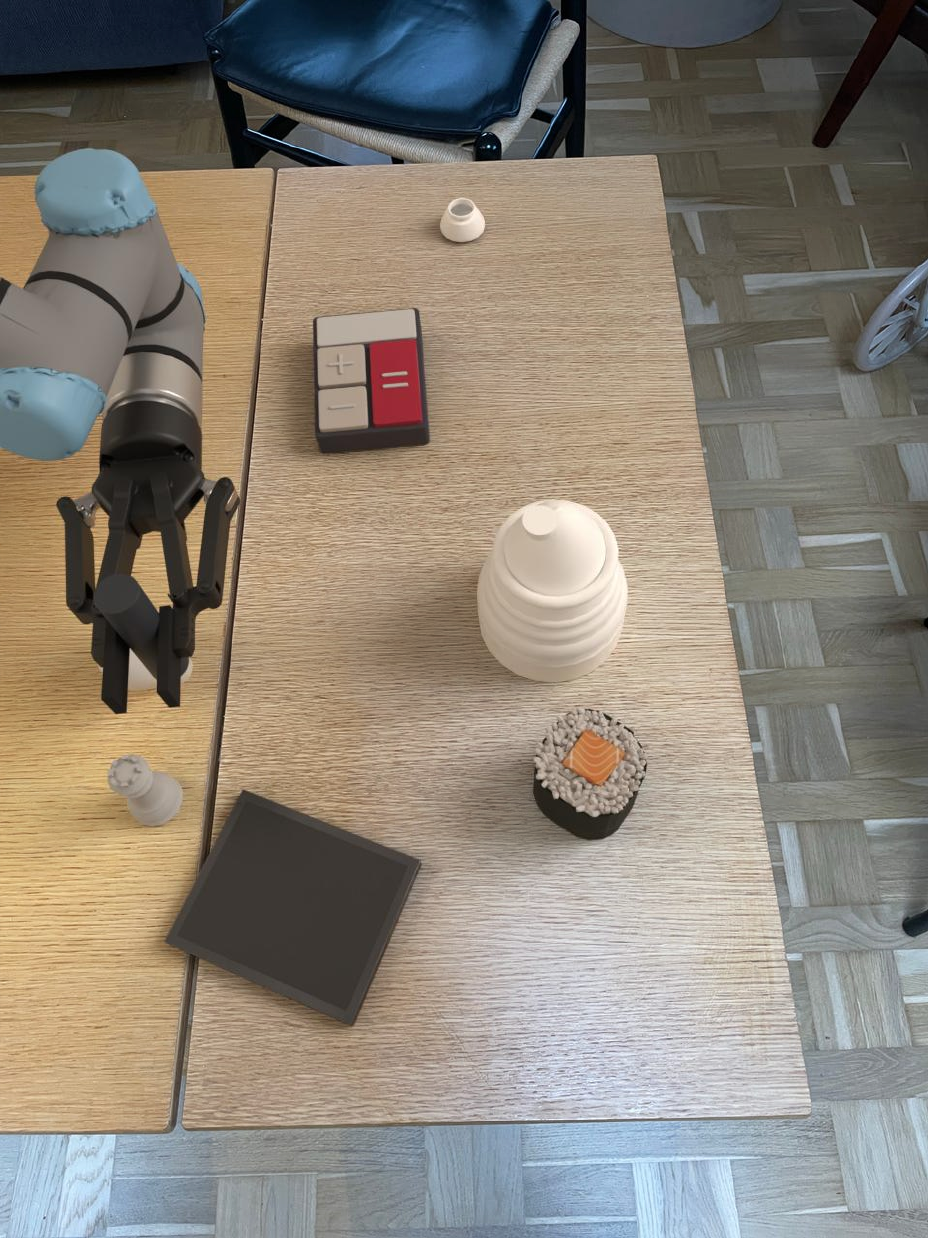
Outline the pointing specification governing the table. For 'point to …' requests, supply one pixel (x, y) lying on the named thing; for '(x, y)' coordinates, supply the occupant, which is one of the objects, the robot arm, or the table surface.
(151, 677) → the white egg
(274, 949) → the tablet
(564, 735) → the sushi
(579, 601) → the honey pot
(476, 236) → the lidless jar
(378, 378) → the calculator
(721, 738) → the table surface
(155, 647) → the marker
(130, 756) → the rook chess piece
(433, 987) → the table surface
